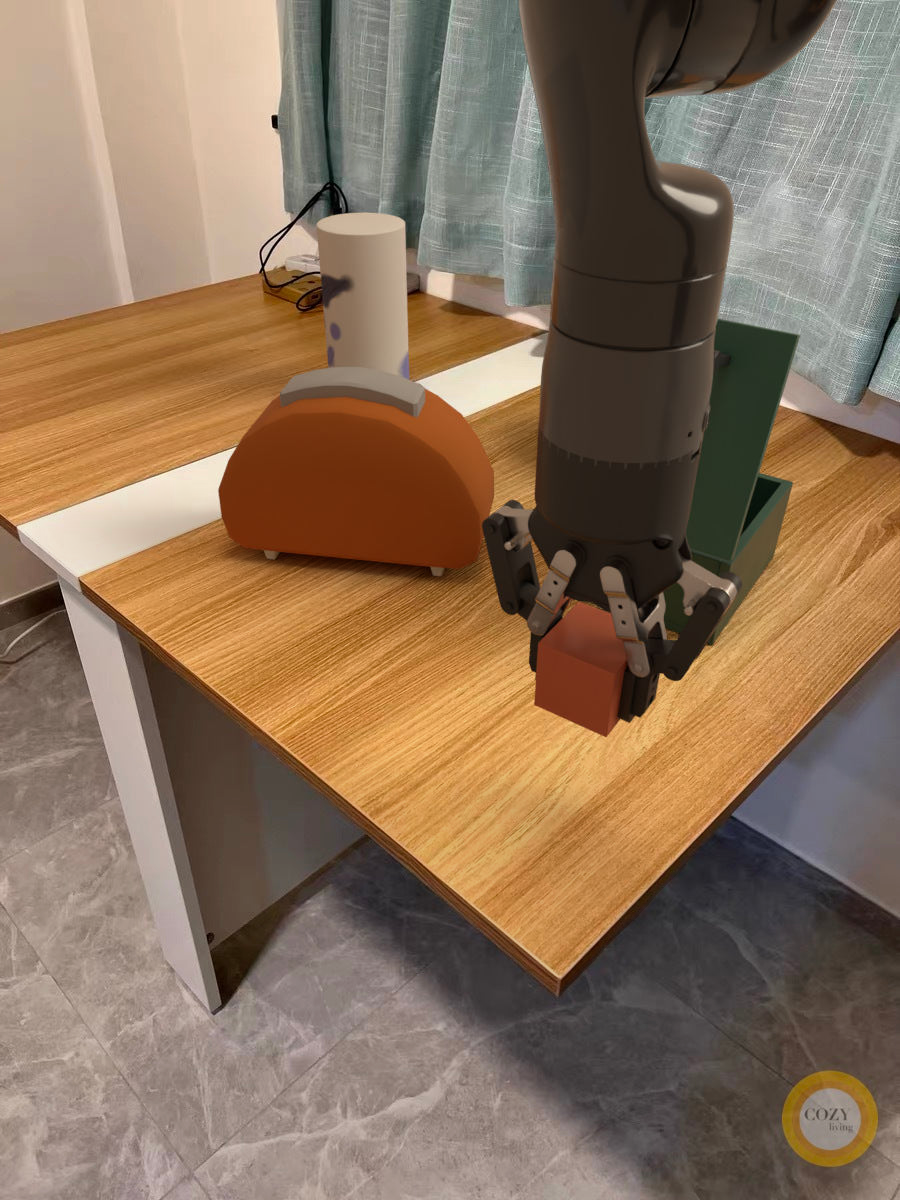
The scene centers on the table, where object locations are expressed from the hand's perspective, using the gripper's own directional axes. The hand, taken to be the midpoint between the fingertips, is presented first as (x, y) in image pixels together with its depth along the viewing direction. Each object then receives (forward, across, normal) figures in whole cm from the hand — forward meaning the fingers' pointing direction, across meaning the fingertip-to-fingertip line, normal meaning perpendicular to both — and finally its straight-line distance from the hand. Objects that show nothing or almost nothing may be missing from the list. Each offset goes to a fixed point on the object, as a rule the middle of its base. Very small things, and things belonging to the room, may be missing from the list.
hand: (589, 693), depth 51 cm
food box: (+11, -6, +29) cm, 32 cm away
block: (0, 0, 0) cm, 0 cm away
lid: (-5, -5, +24) cm, 25 cm away
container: (+11, -54, +46) cm, 71 cm away
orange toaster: (+11, -32, +17) cm, 37 cm away
